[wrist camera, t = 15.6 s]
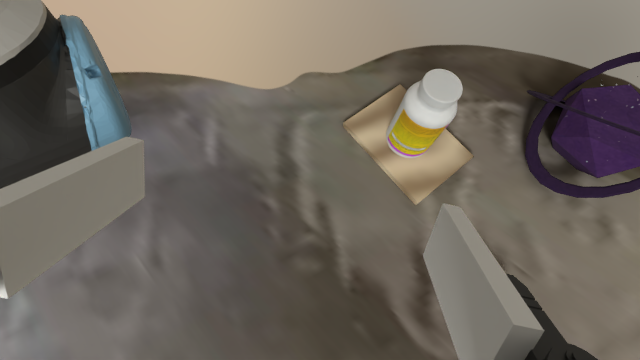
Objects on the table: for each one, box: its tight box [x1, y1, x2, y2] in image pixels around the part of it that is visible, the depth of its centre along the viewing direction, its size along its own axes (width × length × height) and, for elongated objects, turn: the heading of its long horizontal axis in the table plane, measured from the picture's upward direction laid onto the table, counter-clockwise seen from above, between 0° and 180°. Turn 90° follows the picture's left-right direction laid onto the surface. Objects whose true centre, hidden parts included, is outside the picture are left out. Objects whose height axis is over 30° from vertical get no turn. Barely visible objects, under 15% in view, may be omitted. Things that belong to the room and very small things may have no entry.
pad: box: [343, 85, 474, 205], centre depth 50 cm, size 16×12×1 cm
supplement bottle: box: [386, 69, 463, 158], centre depth 43 cm, size 7×7×13 cm
